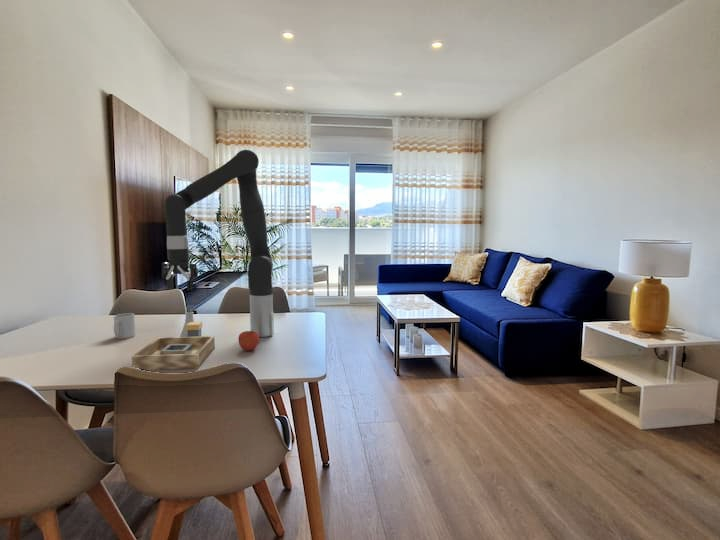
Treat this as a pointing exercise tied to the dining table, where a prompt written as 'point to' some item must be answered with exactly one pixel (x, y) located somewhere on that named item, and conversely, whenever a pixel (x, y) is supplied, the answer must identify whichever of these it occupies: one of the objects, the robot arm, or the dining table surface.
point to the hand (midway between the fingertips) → (180, 289)
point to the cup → (124, 325)
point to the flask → (188, 319)
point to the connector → (194, 329)
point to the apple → (248, 340)
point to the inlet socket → (177, 349)
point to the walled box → (154, 361)
